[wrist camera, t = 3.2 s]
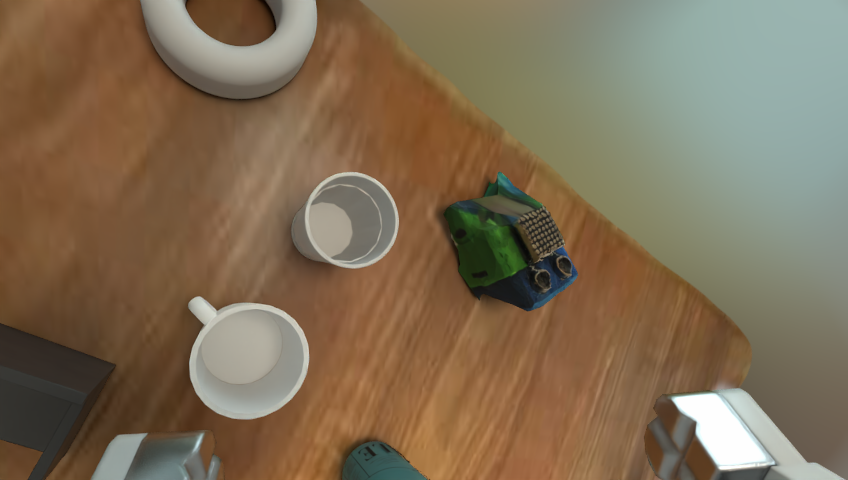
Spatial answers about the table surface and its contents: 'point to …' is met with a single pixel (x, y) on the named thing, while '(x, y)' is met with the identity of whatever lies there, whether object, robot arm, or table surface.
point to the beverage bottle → (378, 464)
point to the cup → (346, 221)
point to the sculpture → (510, 247)
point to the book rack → (45, 394)
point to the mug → (246, 358)
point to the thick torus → (232, 49)
